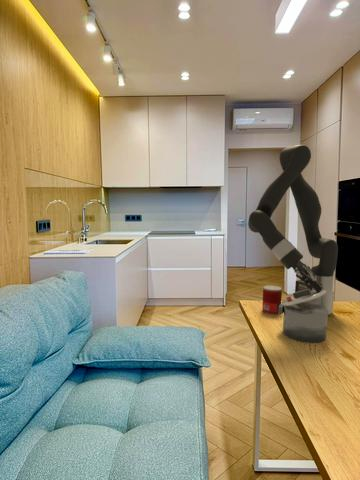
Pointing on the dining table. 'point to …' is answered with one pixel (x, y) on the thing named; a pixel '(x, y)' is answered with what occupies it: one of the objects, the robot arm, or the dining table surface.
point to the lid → (302, 297)
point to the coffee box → (303, 286)
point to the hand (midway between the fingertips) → (320, 290)
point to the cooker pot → (304, 322)
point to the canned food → (271, 299)
